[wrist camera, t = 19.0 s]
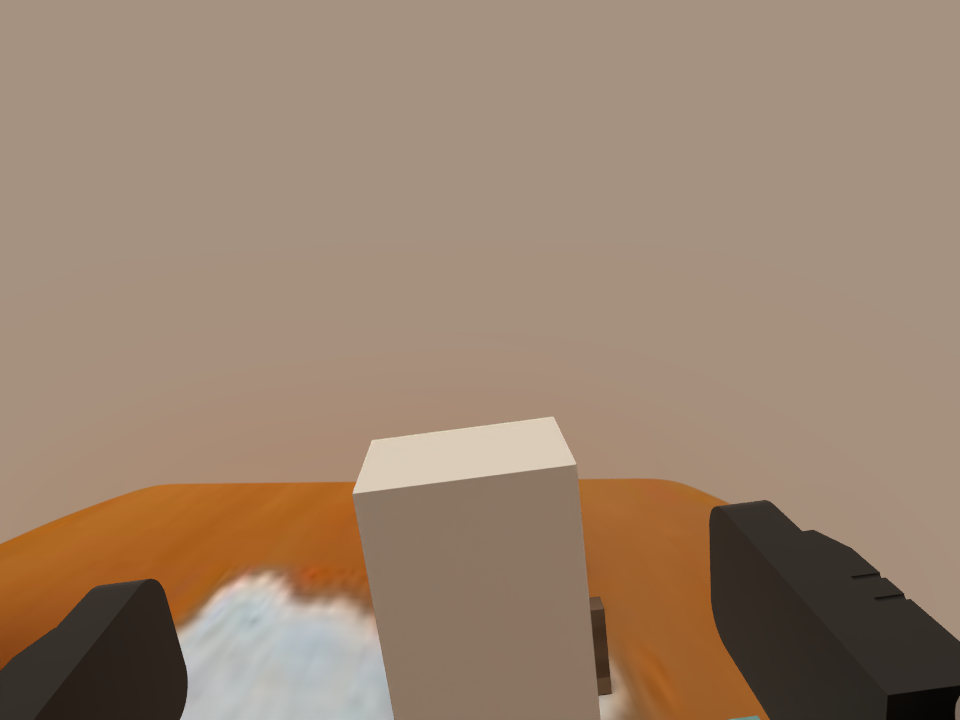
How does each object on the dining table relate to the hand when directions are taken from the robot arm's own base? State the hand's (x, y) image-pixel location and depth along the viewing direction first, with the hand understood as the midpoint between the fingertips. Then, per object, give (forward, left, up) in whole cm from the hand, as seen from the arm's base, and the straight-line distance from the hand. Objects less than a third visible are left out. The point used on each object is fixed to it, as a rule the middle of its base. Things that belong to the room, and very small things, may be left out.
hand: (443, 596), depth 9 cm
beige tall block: (-6, +7, -17) cm, 20 cm away
